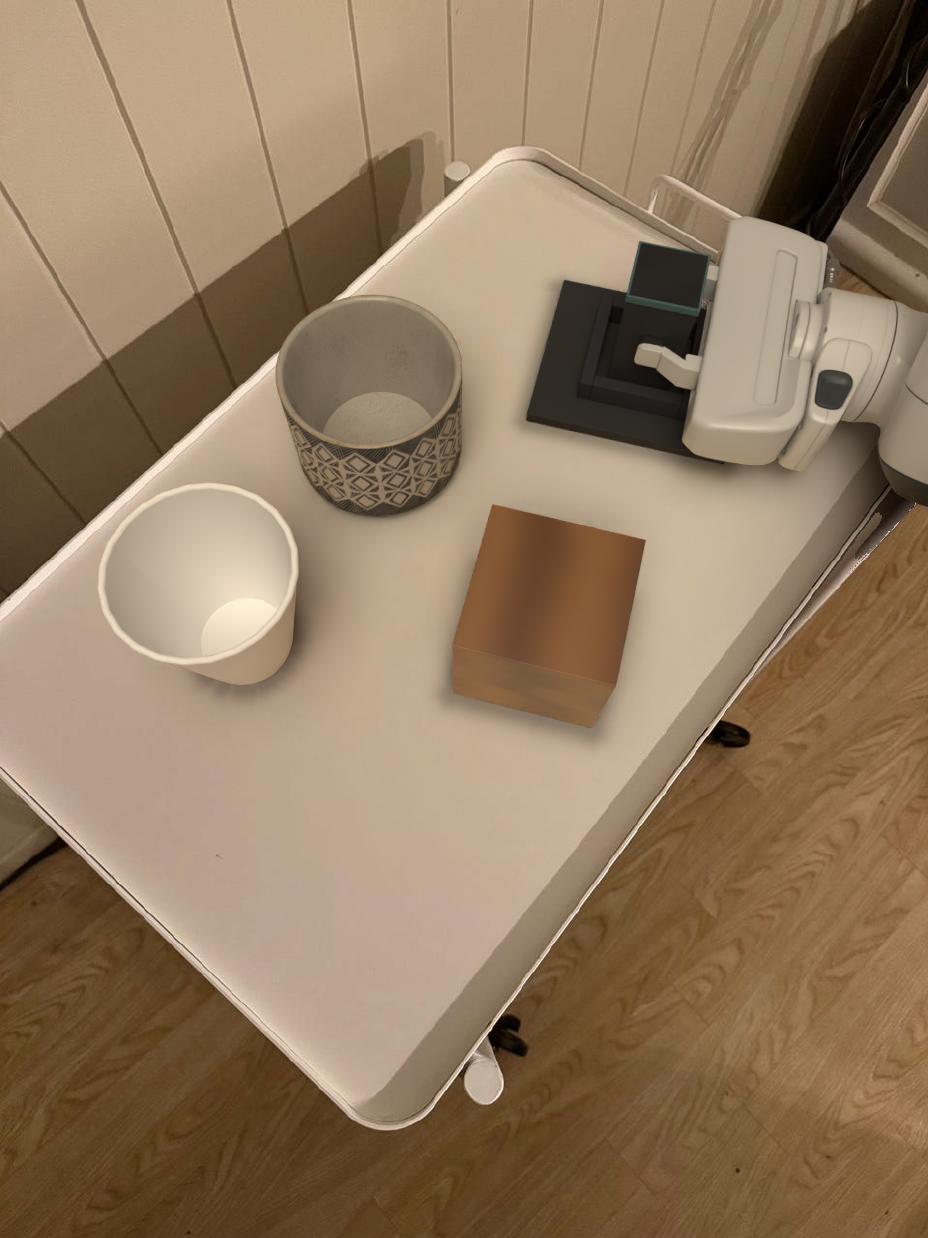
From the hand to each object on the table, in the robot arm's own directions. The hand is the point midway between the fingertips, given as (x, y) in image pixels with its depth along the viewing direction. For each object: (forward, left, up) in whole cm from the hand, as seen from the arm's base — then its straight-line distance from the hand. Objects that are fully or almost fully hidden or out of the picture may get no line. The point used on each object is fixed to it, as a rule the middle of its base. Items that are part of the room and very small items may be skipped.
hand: (644, 314), depth 65 cm
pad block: (-1, +1, -6) cm, 6 cm away
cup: (+37, +6, -7) cm, 38 cm away
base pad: (-1, +1, -7) cm, 7 cm away
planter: (+21, -3, -7) cm, 23 cm away
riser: (+19, +17, -7) cm, 26 cm away
